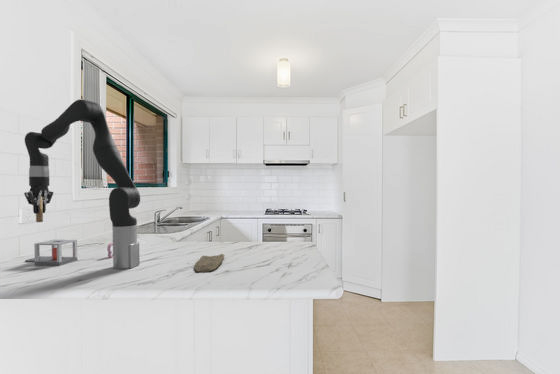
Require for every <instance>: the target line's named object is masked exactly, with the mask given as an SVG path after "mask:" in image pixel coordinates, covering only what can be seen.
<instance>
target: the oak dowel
mask: <svg viewBox="0 0 560 374" xmlns="http://www.w3.org/2000/svg"><path fill="white" fill-rule="evenodd" d="M36 199H37V198H36ZM38 206H39V214H35V223H43V221H44V213H43V198H42V196H41V200H40V202H39V205H38Z"/></svg>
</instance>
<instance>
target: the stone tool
mask: <svg viewBox="0 0 560 374" xmlns="http://www.w3.org/2000/svg"><path fill="white" fill-rule="evenodd" d="M224 258H225V254H222V253H220V254H218V255H211V256H209V255H202V256H201V257H200V258H199V259H198V260H197V261H196V262H195V264H194V266H193V267H194V268H193V269H194V271H196V272H197V273H208V272H212V271H214V270H215V269H217V268H219V266H220V265H221V263H223V260H224Z"/></svg>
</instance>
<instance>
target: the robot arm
mask: <svg viewBox="0 0 560 374" xmlns="http://www.w3.org/2000/svg"><path fill="white" fill-rule="evenodd" d="M76 122H83V123H89V124H90V125H91V127H92V129H93V132H94V140H93V144H92V153H93V155H94V156H95V157H94V158H95V159H96V161H97V163H98V166H100V168H101V169H102V170H103V172H105V173H106V174H107V175H108V176H109V177H110V178H111V179H112V180H113V181H114V183H115V184H116V186H117V187H114V188H113V189H112V190H111V191H110V193H109V196H108V207H109V218H110V221H111V222H112V223H111V225H112V243H113V246H112V254H113V257H112V268H113V269H115V270H120V269H121V270H125V269H132V268H135V267H137V266H139V265H140V264H141V263H140V243H139V241H138V231H137V230H138V225H137V224H138V222H137V218H136V217H134V216H133V215H131V213H130V209H135V208H137V207H138V206H139V205H140V203H141V195H140V193H139V190H138V187H137V186H136V185H135V183H134V181H133V179H132V178H131V176H130V174H129V171H128V170H127V168H126V165H125V163H124V161H123V159H122V156H121V154H120V152H119V149H118V147H117V145H116V143H115V141H114V138H113V136H112V133H111V131H110V128H109V124H108V122H107V118H106V115H105V112H104V109H103V108H102V106H101V105H100V104H99V103H97V102H94V101H90V100H86V99H77V100H75V101H74V102H72V103H71V104H70V105H69V106H68V107H67V108H66V109H65V110H64V111H63V112H62V113H61V114H60V115H59V116H58V117H57V118H55V120H53V121H52V122H50V123H49V124H47V125H45V126H44V127H43V128H42V129H41V132H34V131H29V132H27V133H26V135H25V136H24V144H25V148H26V150H27V153H28V156H29V168H28V176H29V177H28V186H29V187H30V189H29V191H26V192H24V193H23V194H24V196H25V199H26V202H28V205H32V210H33V211H32V212H33V214H35V215H36V214H39V206H38V205H39V202H40V200H41V196H42V198H43V214H45V213H46V212H47V211H46V210H47V209H46V205H47V204H50V202H51V201H52V197H53V195H54V191H50V190H49V186H50V167H49V166H50V165H49V162H50V161H49V155H48V154H46V153H43V152H41V151H40V149H44V150H45V149H46V150H47V149H50V148H52V147H53V146H54V145H55V143H56V142H57V141H58V140H59V139H60V138H62V137H64V136H65V135H67V133H68V132H69V130H70V126H71V124H74V123H76ZM36 198H37V199H36Z"/></svg>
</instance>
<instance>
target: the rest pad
mask: <svg viewBox="0 0 560 374" xmlns="http://www.w3.org/2000/svg"><path fill="white" fill-rule="evenodd" d="M51 257H52V255H51V256H47V255H46V256H45V255H44V256H43V255H41V256H40V260H43V259H47V258H51ZM24 262H25V263H35V257H32V258H29V259H24Z"/></svg>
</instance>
